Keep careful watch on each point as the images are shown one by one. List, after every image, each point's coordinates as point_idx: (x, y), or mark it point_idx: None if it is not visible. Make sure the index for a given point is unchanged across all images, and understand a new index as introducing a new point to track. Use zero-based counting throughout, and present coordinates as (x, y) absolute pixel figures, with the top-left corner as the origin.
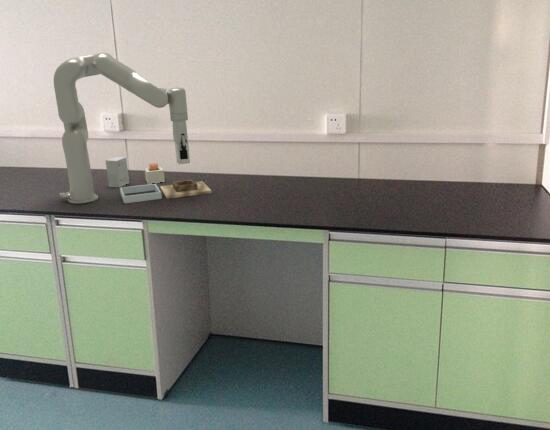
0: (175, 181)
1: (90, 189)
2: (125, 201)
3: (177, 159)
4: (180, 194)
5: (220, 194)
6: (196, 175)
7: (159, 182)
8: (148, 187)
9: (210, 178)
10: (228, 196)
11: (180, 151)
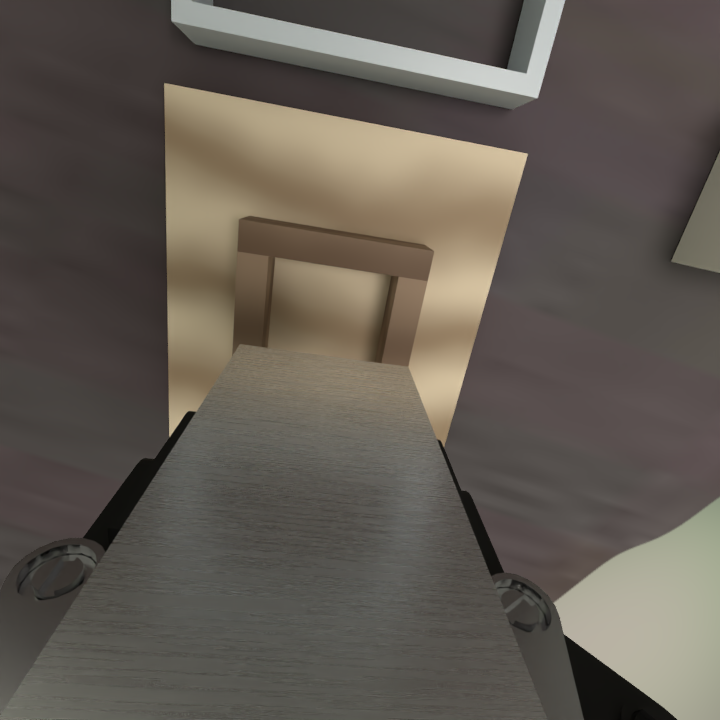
0: (426, 279)
1: None
2: None
3: (326, 381)
4: (167, 218)
5: (117, 461)
6: (648, 494)
7: (693, 217)
8: (533, 11)
9: (514, 531)
10: (50, 481)
11: (119, 520)
